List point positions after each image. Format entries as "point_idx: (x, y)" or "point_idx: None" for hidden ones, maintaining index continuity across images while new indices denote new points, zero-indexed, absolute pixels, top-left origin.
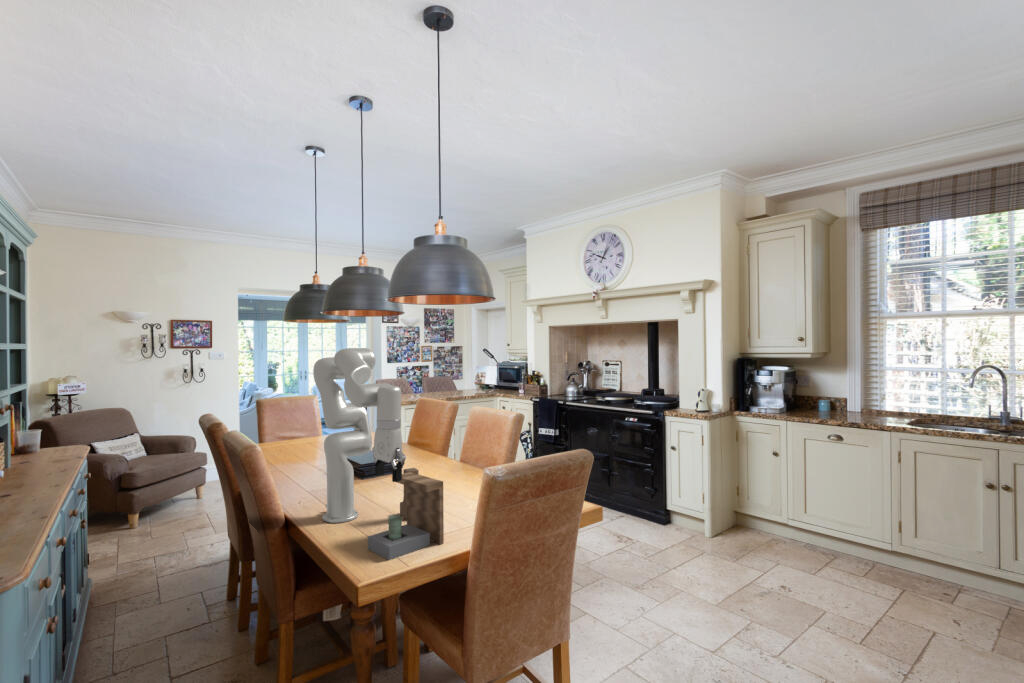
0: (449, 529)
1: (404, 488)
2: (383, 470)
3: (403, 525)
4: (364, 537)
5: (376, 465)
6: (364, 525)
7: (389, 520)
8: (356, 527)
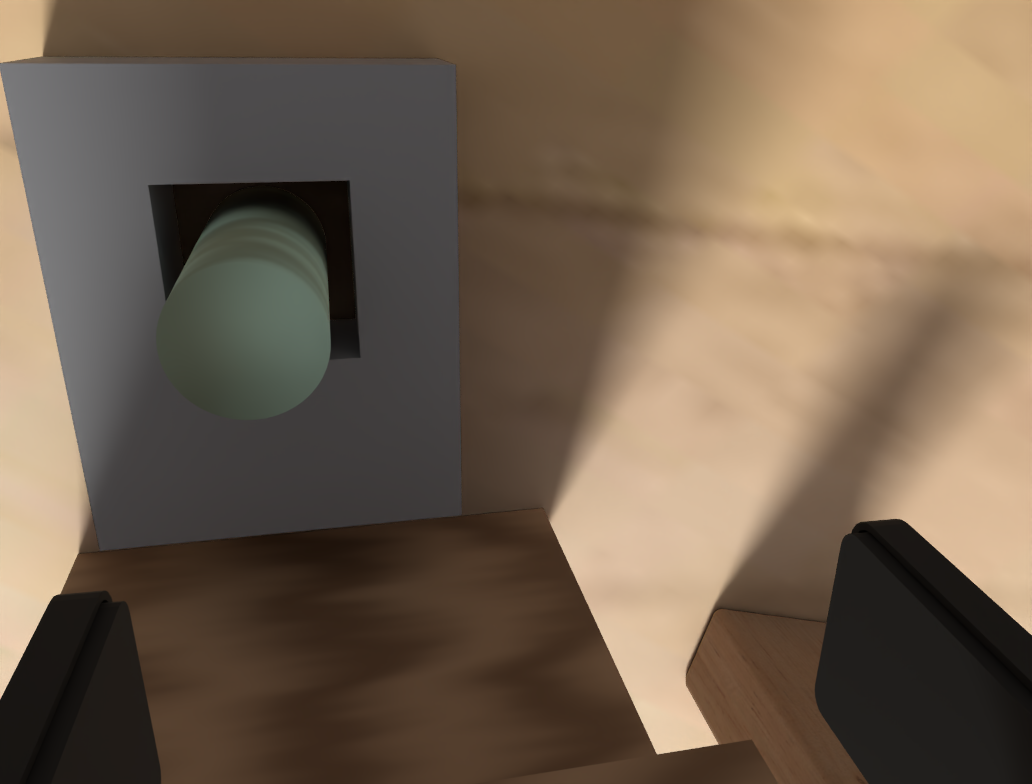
0: None
1: None
2: (860, 741)
3: (459, 472)
4: (701, 191)
5: (1027, 699)
6: (913, 329)
7: (239, 256)
8: (934, 260)
